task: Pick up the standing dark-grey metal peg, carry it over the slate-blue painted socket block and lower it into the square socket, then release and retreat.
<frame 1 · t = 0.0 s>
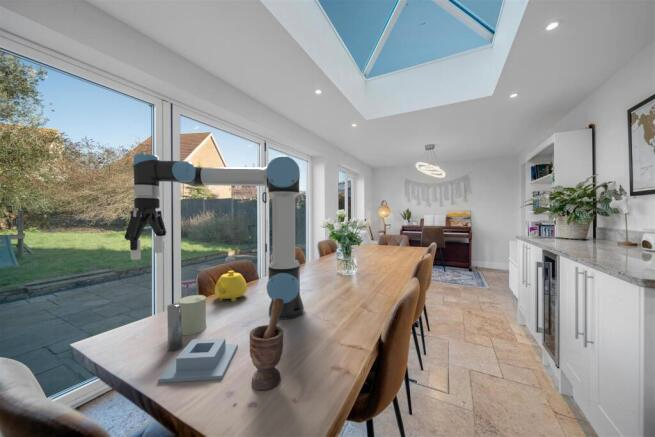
hand: (148, 255, 92), 28 cm above the table, fingers open, 13 cm apart
mortar and pestle: (268, 377, 68), on the table
peg: (175, 347, 82), on the table
socket block: (202, 362, 74), on the table
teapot: (229, 299, 127), on the table
can: (192, 329, 95), on the table
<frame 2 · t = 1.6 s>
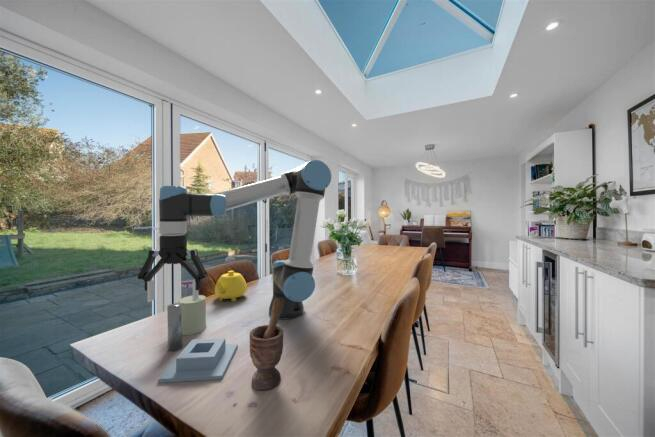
hand: (173, 300, 81), 16 cm above the table, fingers open, 13 cm apart
nothing on the table moved.
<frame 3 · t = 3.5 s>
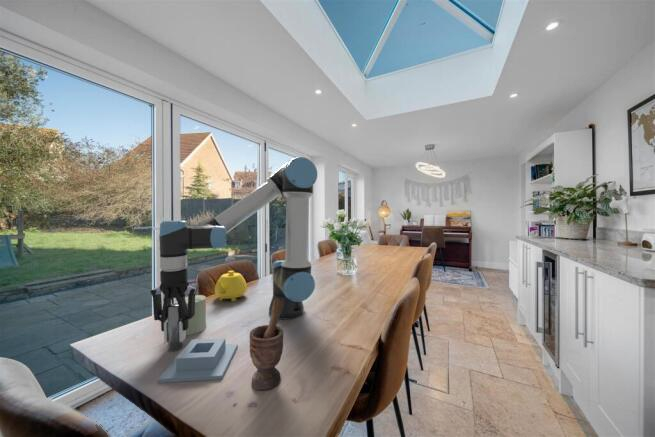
hand: (175, 339, 82), 3 cm above the table, fingers closed on peg, 4 cm apart
peg: (175, 347, 82), on the table, touching gripper
everything else where it was.
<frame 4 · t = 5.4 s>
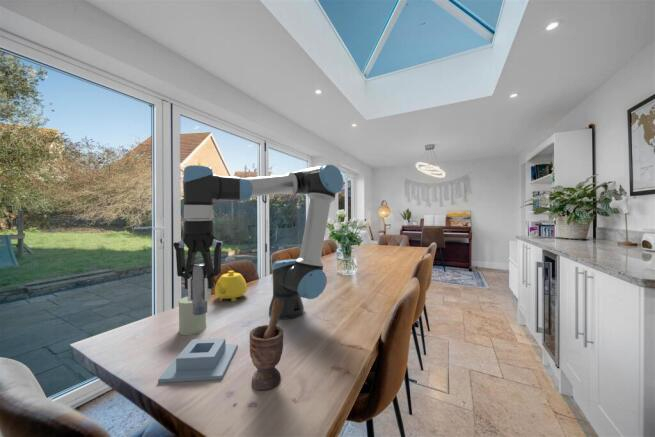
hand: (199, 299, 74), 19 cm above the table, fingers closed on peg, 4 cm apart
peg: (199, 312, 74), point 15 cm above the table, touching gripper
everything else where it was.
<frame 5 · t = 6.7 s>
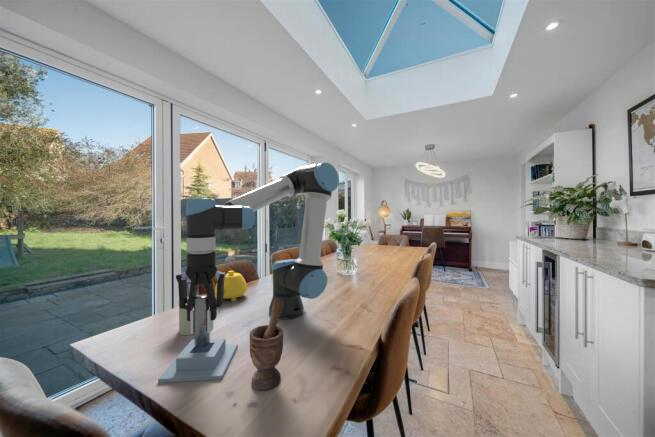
hand: (202, 330, 73), 9 cm above the table, fingers closed on peg, 4 cm apart
peg: (202, 344, 74), point 6 cm above the table, touching gripper
everything else where it was.
when the fingers open (6 cm above the table, at t = 7.6 s): peg drops 1 cm, resting on socket block.
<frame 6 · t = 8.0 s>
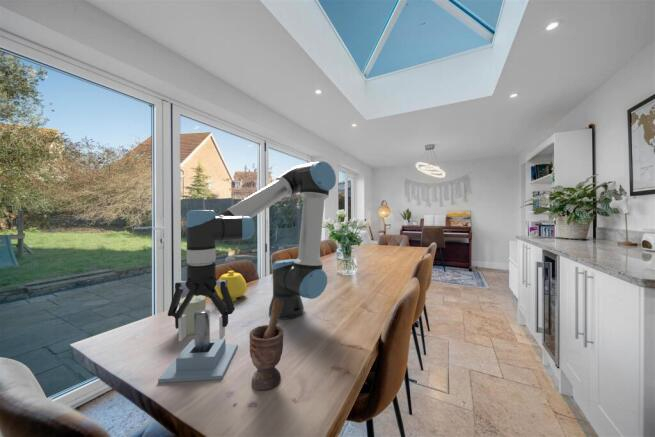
hand: (202, 337, 74), 7 cm above the table, fingers open, 10 cm apart
peg: (202, 359, 74), point 1 cm above the table, touching socket block
everything else where it was.
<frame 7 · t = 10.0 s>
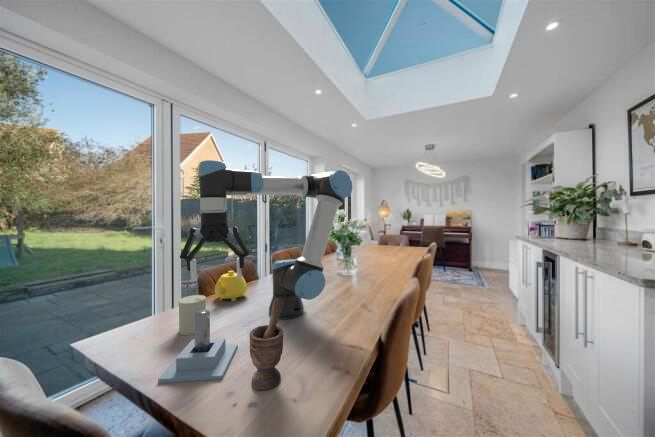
hand: (217, 279, 79), 23 cm above the table, fingers open, 13 cm apart
nothing on the table moved.
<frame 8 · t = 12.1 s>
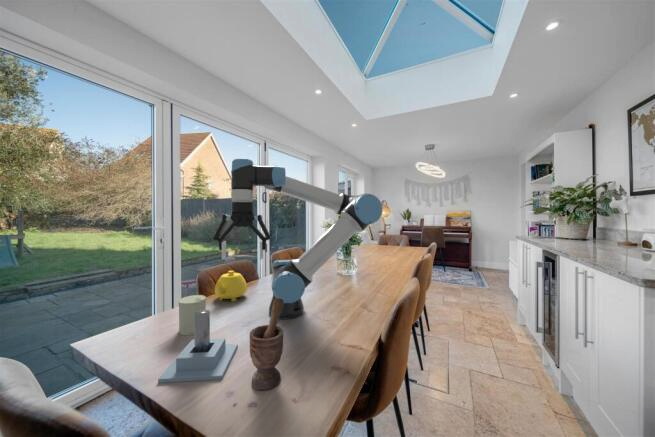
hand: (242, 258, 94), 27 cm above the table, fingers open, 13 cm apart
nothing on the table moved.
at the end: peg 0.0 cm off-centre on the socket block, point 1.0 cm above the socket block's base; peg tilted 0°; the gripper is holding nothing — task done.
